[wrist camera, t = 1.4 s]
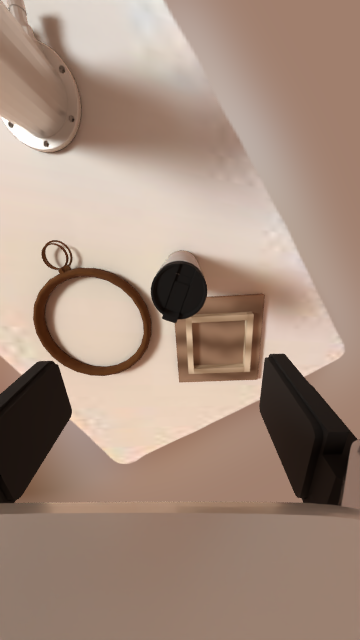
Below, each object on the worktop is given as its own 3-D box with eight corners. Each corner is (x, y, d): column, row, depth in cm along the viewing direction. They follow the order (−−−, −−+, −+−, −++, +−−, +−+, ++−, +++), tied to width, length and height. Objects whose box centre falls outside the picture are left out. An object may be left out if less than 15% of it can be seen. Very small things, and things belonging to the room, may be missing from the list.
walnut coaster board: (173, 298, 44) (172, 302, 41) (262, 293, 43) (267, 297, 41) (179, 379, 51) (179, 386, 49) (255, 376, 50) (259, 383, 48)
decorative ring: (101, 214, 36) (168, 359, 46) (107, 215, 39) (169, 352, 49) (-15, 266, 40) (70, 390, 50) (-2, 264, 42) (76, 382, 53)
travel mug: (160, 278, 42) (141, 313, 24) (171, 245, 40) (159, 254, 21) (190, 289, 43) (194, 331, 24) (202, 257, 41) (217, 275, 22)
